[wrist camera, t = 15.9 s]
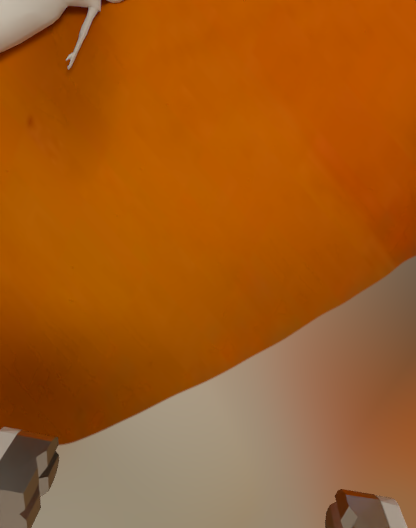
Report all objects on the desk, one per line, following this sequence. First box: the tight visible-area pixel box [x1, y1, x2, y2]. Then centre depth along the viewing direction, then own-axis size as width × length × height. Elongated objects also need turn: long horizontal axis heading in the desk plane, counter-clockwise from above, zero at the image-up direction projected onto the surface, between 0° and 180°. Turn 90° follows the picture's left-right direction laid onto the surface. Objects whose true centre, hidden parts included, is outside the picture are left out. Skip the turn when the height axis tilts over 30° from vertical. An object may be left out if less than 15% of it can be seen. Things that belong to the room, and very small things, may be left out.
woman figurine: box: [0, 0, 123, 70], centre depth 33 cm, size 12×4×18 cm
